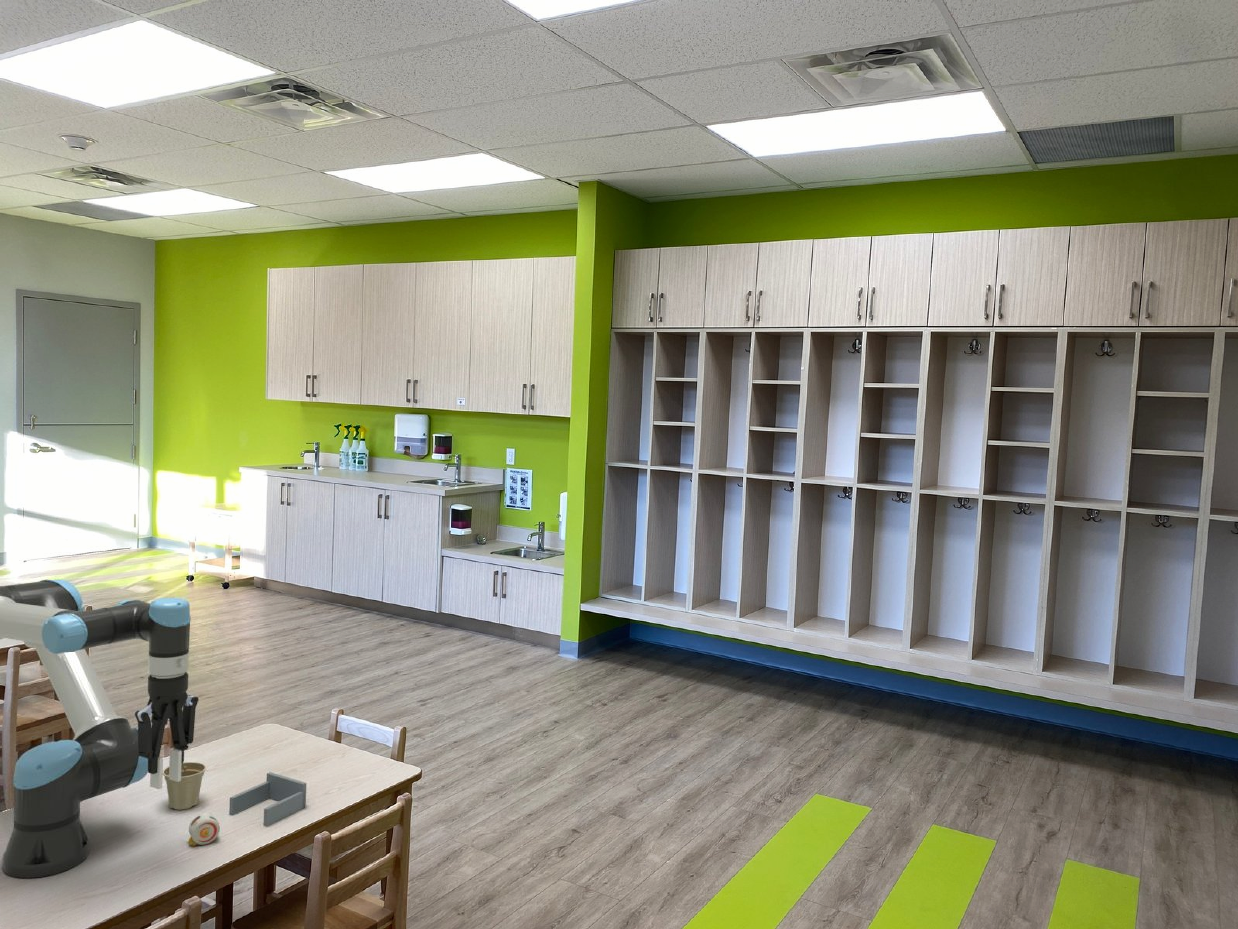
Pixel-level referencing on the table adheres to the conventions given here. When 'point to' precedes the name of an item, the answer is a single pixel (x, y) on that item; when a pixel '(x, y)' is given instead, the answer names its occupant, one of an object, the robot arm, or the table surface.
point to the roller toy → (203, 829)
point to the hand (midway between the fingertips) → (165, 783)
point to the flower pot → (185, 785)
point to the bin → (272, 797)
